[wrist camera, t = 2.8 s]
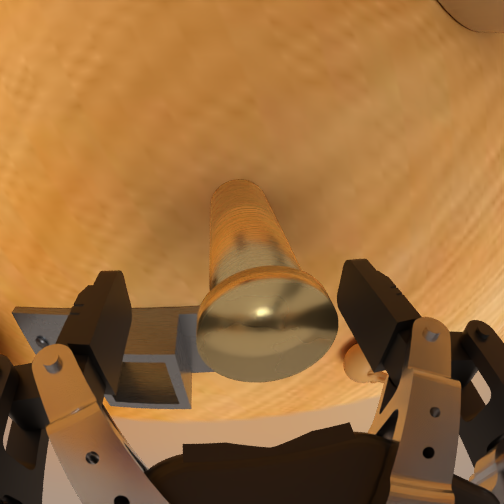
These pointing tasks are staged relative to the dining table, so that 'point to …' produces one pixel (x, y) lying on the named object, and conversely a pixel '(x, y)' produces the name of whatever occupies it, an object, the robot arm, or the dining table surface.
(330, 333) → the pin
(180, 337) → the slotted door latch plate
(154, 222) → the dining table surface
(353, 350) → the figurine
